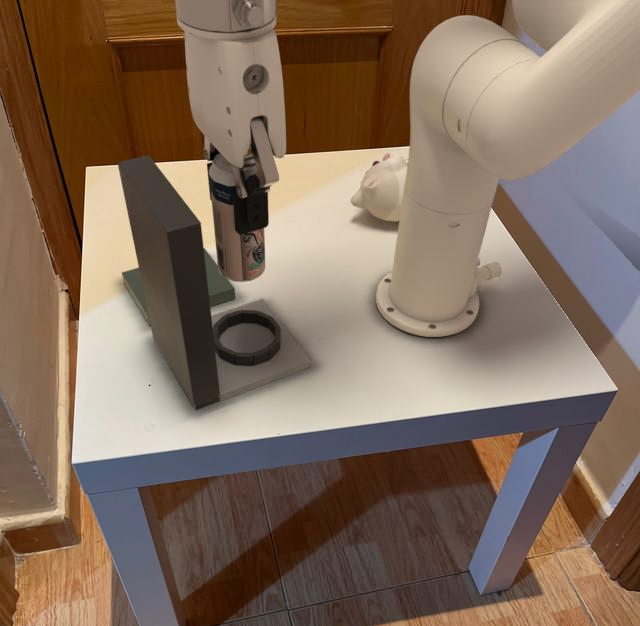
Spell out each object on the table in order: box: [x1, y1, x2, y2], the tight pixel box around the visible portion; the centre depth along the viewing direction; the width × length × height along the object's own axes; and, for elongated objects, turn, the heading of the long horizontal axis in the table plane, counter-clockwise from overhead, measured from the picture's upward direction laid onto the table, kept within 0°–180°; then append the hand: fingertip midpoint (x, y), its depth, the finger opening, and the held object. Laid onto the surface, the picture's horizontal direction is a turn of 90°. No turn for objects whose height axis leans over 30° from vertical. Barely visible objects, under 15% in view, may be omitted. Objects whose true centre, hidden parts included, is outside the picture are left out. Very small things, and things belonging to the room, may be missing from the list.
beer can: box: [209, 151, 266, 283], centre depth 66 cm, size 5×5×12 cm
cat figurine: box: [350, 152, 408, 223], centre depth 94 cm, size 10×8×15 cm
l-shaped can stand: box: [117, 154, 312, 412], centre depth 69 cm, size 14×12×22 cm
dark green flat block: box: [121, 248, 236, 328], centre depth 83 cm, size 11×9×4 cm
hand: (239, 212), depth 65 cm, fingers closed on beer can, 4 cm apart
